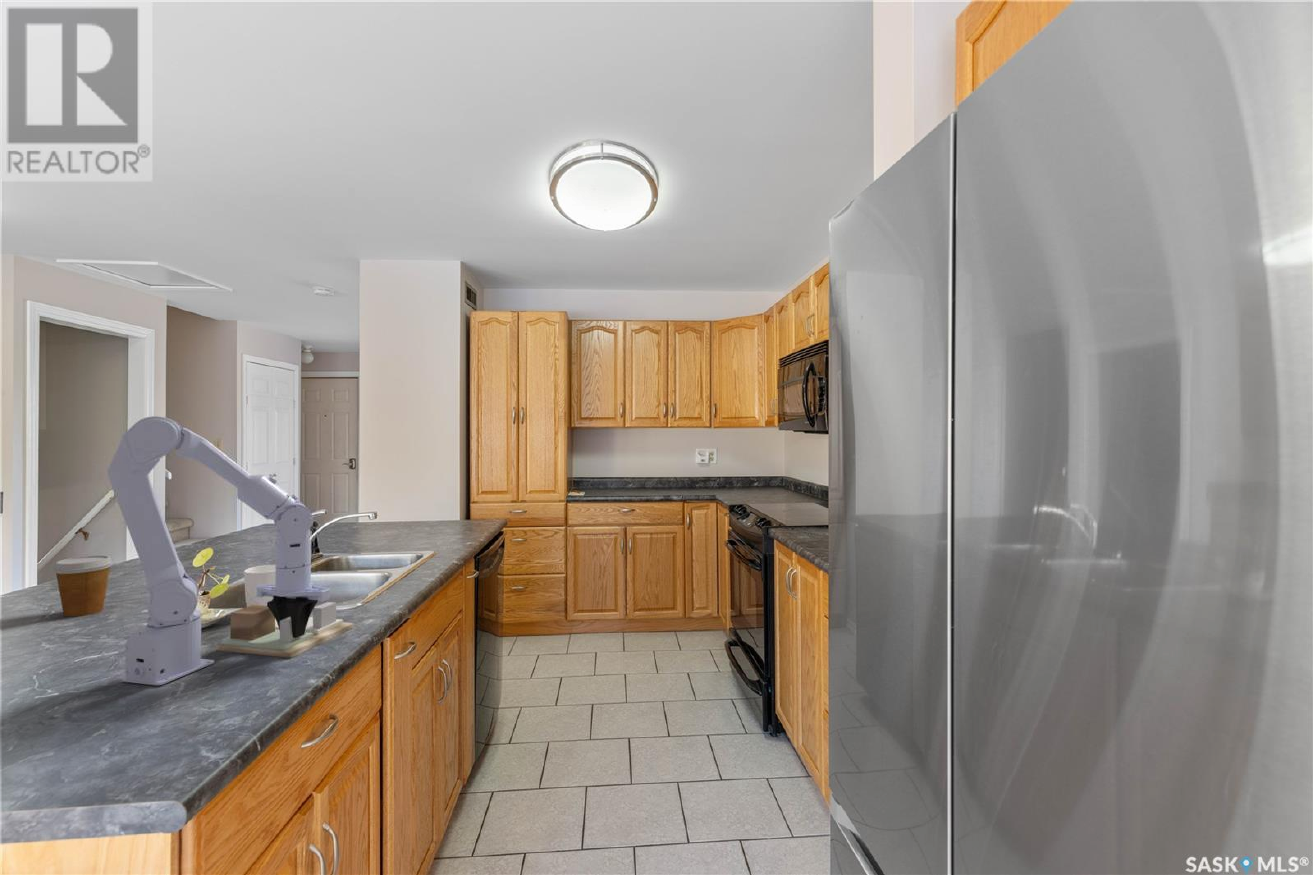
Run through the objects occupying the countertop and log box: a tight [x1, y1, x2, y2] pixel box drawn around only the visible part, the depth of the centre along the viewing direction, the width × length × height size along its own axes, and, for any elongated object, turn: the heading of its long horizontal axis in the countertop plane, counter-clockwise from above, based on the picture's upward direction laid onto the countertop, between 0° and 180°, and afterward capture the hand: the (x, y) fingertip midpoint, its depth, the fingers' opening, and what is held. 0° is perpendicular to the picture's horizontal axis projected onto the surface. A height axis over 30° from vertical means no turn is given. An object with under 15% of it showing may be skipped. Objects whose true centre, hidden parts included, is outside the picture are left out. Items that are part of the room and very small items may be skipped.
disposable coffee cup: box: [52, 554, 114, 618], centre depth 127 cm, size 10×10×12 cm
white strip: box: [275, 601, 344, 635], centre depth 117 cm, size 7×14×5 cm, turn 79°
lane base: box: [218, 622, 354, 658], centre depth 113 cm, size 16×16×1 cm
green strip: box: [221, 617, 314, 650], centre depth 109 cm, size 7×14×5 cm, turn 80°
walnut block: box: [229, 605, 275, 640], centre depth 110 cm, size 5×5×5 cm
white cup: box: [243, 564, 276, 607], centre depth 129 cm, size 8×8×10 cm
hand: (292, 635), depth 108 cm, fingers closed on green strip, 2 cm apart
